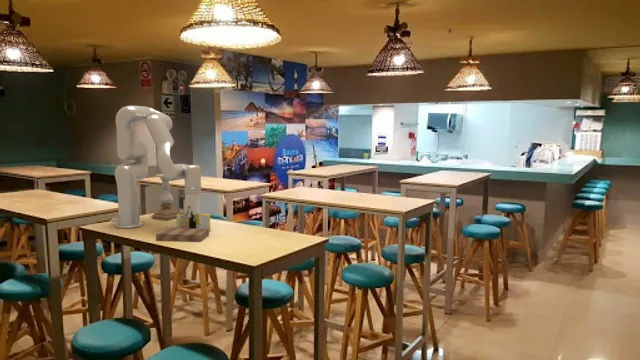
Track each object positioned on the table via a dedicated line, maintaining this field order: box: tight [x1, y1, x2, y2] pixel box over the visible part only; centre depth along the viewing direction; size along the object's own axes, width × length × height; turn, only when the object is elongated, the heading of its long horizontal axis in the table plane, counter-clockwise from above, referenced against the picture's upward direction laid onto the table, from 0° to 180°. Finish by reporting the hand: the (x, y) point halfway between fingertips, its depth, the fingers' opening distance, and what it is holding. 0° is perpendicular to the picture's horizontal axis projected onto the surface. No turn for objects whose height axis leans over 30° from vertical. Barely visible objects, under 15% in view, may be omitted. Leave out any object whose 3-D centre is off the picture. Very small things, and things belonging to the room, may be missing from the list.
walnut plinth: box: [155, 227, 210, 243], centre depth 207 cm, size 20×12×3 cm, turn 86°
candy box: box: [176, 213, 211, 232], centre depth 221 cm, size 16×2×8 cm, turn 85°
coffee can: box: [178, 194, 186, 214], centre depth 240 cm, size 10×10×14 cm
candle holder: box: [151, 173, 179, 222], centre depth 250 cm, size 11×11×24 cm
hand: (193, 228), depth 221 cm, fingers closed on candy box, 2 cm apart
